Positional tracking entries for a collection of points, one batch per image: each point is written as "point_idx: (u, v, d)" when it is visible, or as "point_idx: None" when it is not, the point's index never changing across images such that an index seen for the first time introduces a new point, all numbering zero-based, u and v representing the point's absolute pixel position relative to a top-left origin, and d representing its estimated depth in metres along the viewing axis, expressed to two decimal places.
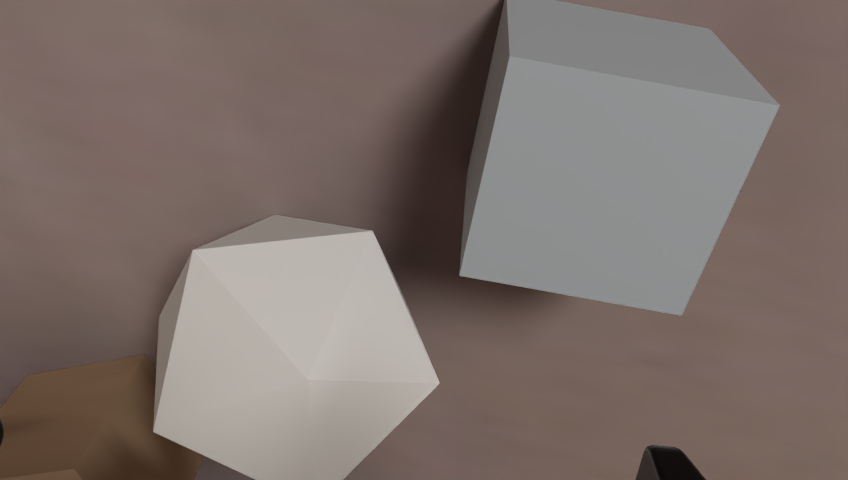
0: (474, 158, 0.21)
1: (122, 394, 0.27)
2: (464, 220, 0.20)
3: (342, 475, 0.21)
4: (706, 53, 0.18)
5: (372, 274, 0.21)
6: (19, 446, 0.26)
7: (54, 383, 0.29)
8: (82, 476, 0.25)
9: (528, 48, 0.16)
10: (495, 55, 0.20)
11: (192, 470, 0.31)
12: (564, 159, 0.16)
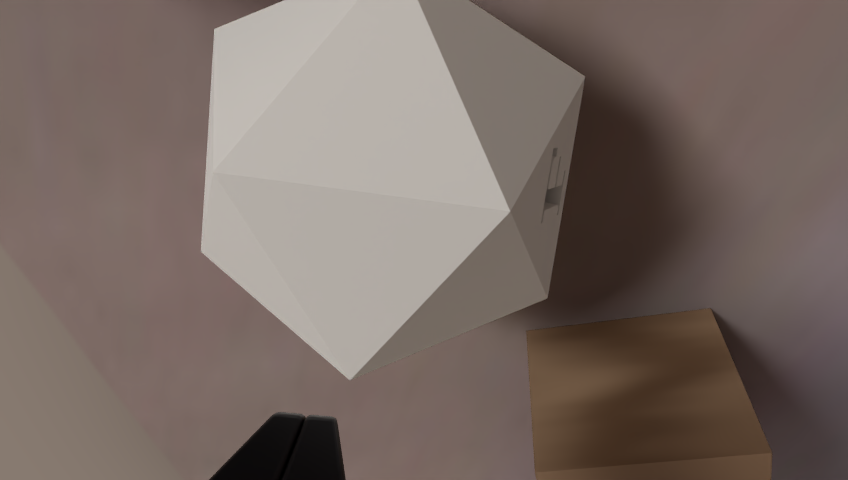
0: None
1: (532, 376, 0.22)
2: None
3: (472, 152, 0.12)
4: None
5: (235, 40, 0.15)
6: None
7: None
8: (554, 468, 0.19)
9: None
10: None
11: (711, 338, 0.21)
12: None
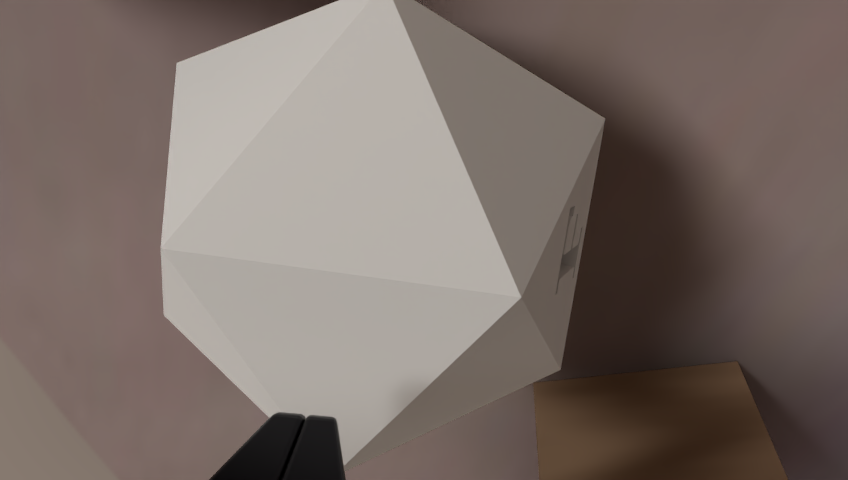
0: None
1: (539, 438, 0.20)
2: None
3: (475, 224, 0.10)
4: None
5: (198, 79, 0.13)
6: None
7: None
8: None
9: None
10: None
11: (739, 397, 0.19)
12: None
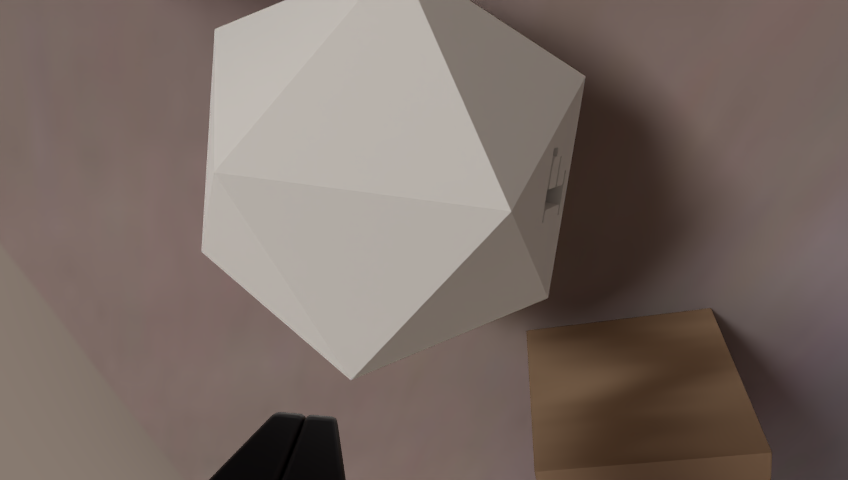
0: None
1: (532, 376, 0.22)
2: None
3: (473, 152, 0.12)
4: None
5: (236, 40, 0.15)
6: None
7: None
8: (554, 467, 0.19)
9: None
10: None
11: (711, 338, 0.21)
12: None
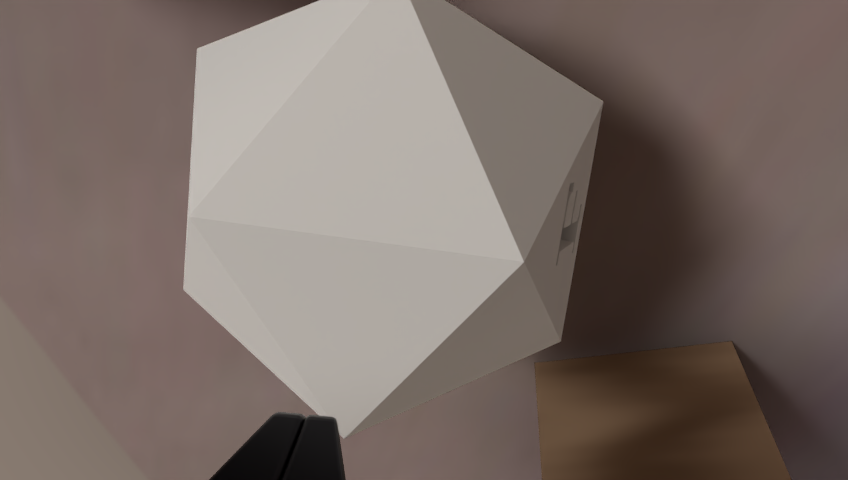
0: None
1: (541, 414, 0.20)
2: None
3: (481, 194, 0.11)
4: None
5: (218, 62, 0.13)
6: None
7: None
8: None
9: None
10: None
11: (733, 375, 0.20)
12: None
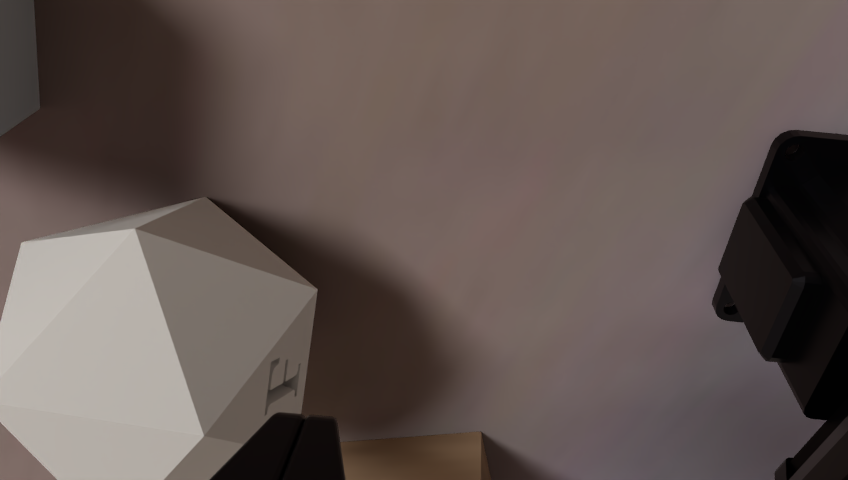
0: None
1: None
2: None
3: (179, 389, 0.16)
4: None
5: (29, 264, 0.19)
6: None
7: None
8: None
9: None
10: None
11: (472, 462, 0.26)
12: None
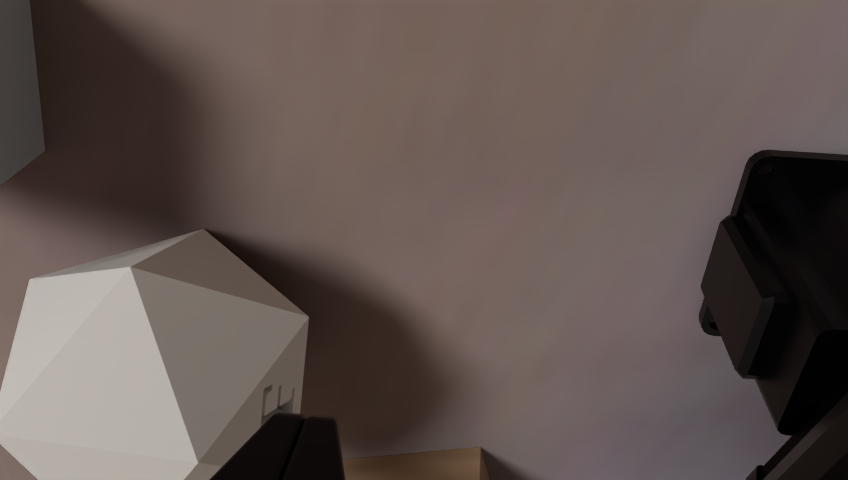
0: None
1: None
2: None
3: (174, 418, 0.17)
4: None
5: (35, 300, 0.20)
6: None
7: None
8: None
9: None
10: None
11: (471, 477, 0.26)
12: None
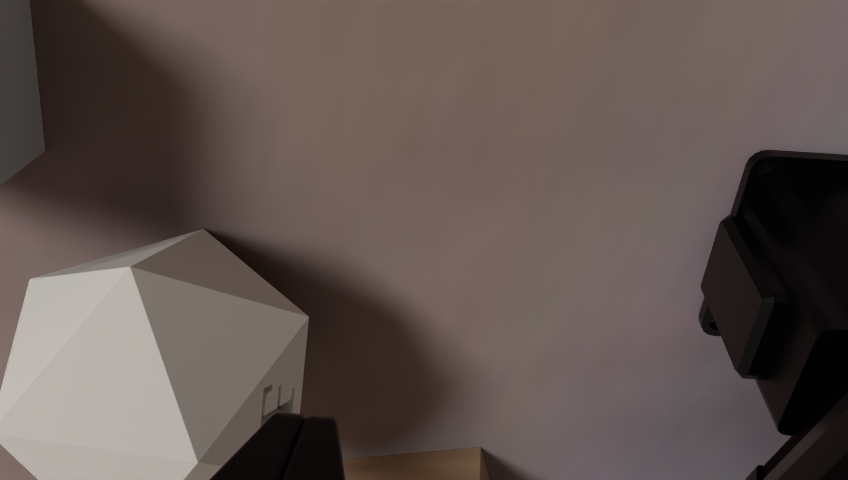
0: None
1: None
2: None
3: (174, 418, 0.17)
4: None
5: (35, 300, 0.20)
6: None
7: None
8: None
9: None
10: None
11: (471, 477, 0.26)
12: None
